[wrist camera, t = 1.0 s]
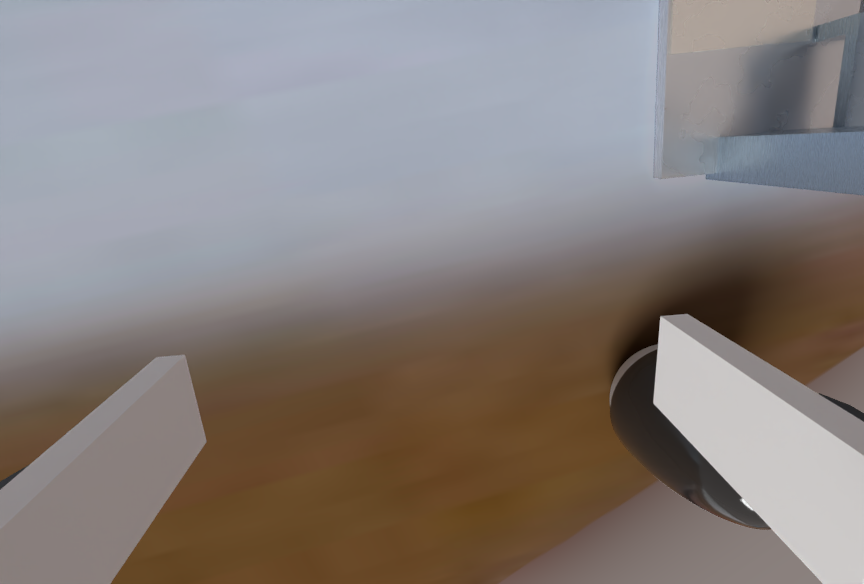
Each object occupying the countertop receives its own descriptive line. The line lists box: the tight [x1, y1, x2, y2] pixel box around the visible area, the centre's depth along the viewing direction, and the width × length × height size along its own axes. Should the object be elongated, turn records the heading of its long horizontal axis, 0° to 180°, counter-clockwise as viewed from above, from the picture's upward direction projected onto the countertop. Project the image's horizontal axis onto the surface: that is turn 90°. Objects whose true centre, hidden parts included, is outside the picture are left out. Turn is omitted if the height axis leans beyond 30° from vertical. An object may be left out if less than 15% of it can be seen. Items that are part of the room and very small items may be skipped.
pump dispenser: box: [610, 344, 771, 530], centre depth 33 cm, size 10×10×15 cm
